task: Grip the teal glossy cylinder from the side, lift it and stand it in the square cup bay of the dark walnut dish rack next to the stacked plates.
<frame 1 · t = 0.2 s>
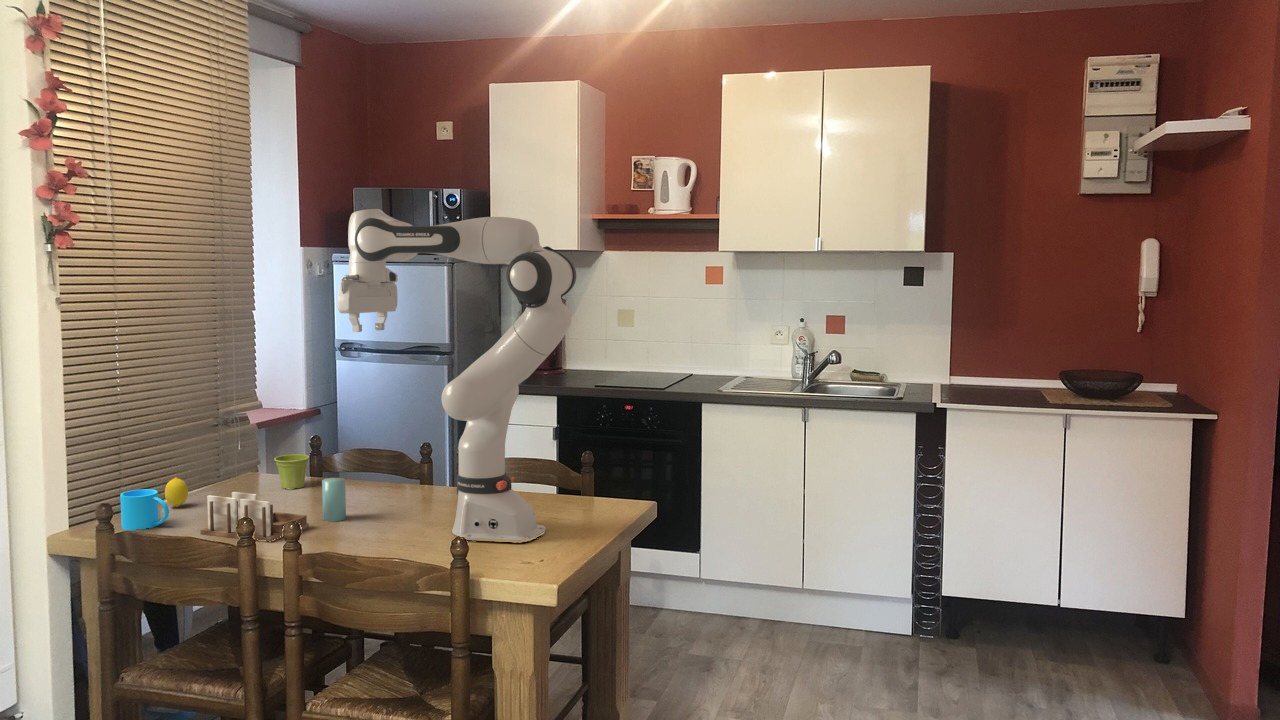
hand: (368, 331, 249), 48 cm above the table, tool pointing down, fingers open, 8 cm apart
rack: (255, 530, 242), on the table
plant pot: (292, 488, 288), on the table
lemon: (177, 508, 264), on the table
teal glossy cylinder: (334, 519, 254), on the table
mug: (147, 527, 245), on the table
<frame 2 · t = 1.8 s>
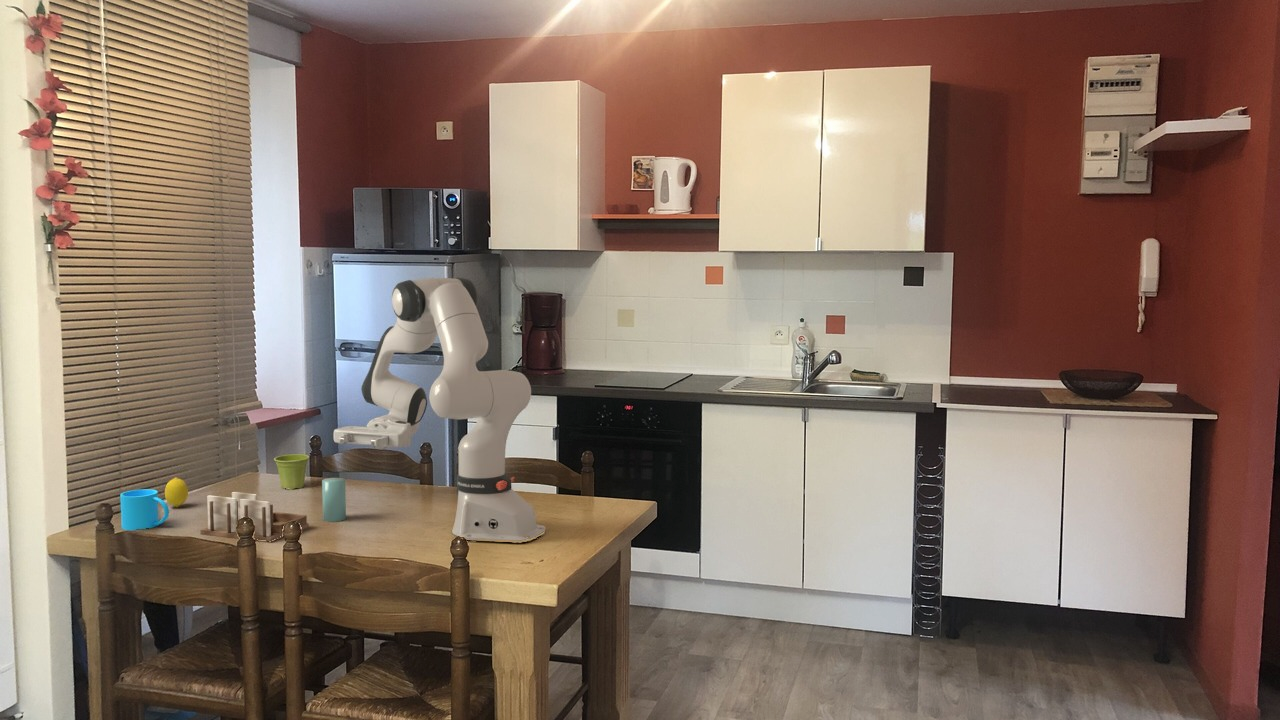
hand: (357, 442, 264), 18 cm above the table, tool horizontal, fingers open, 8 cm apart
nothing on the table moved.
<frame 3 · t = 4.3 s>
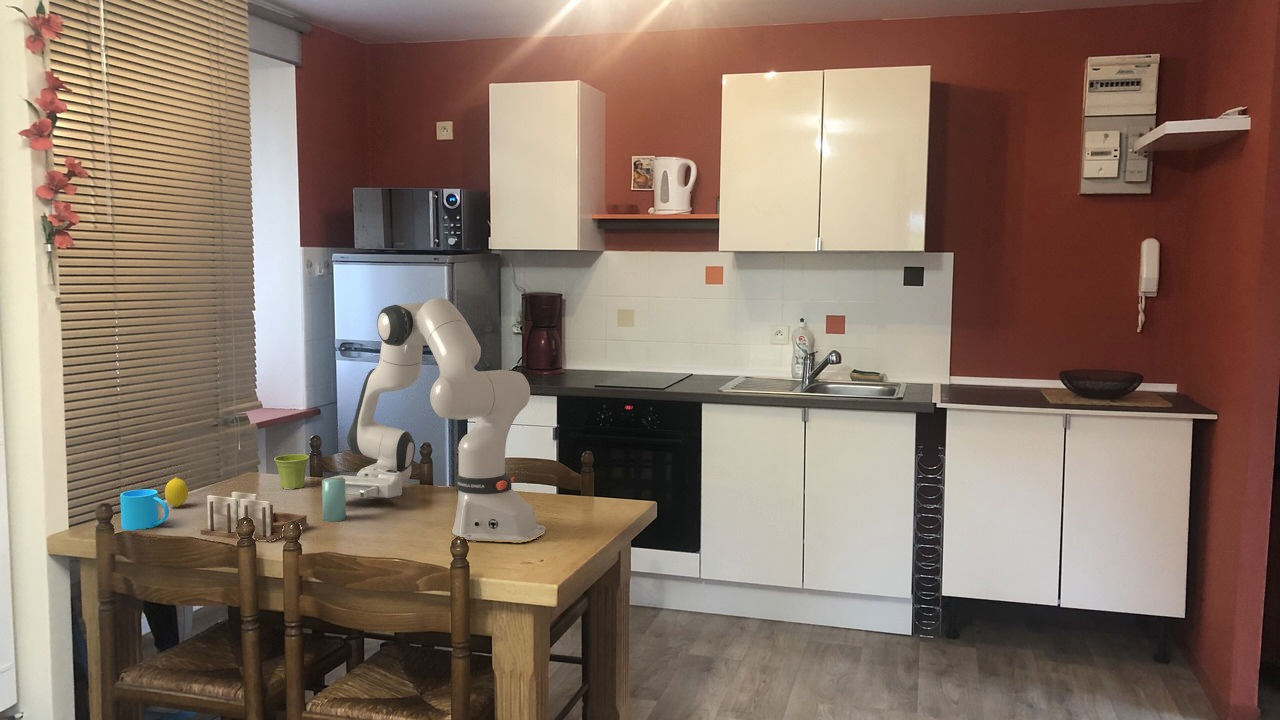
hand: (346, 493, 259), 5 cm above the table, tool horizontal, fingers open, 8 cm apart
nothing on the table moved.
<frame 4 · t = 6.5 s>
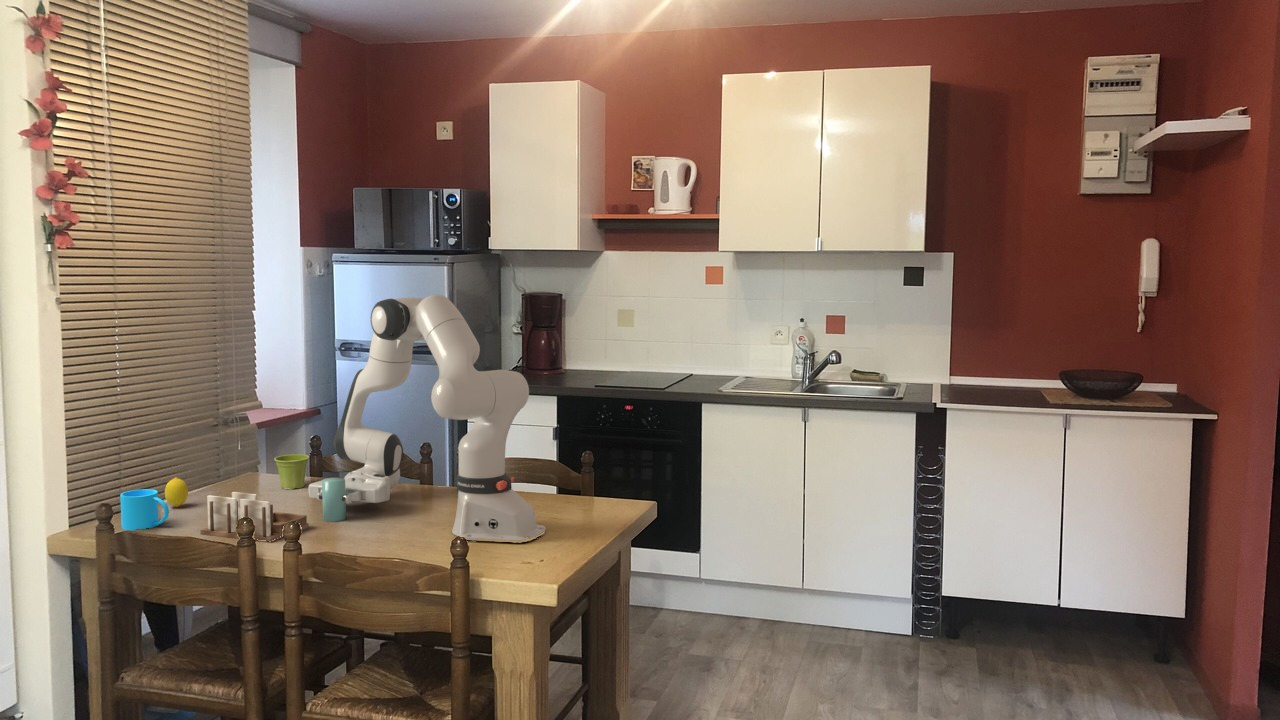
hand: (332, 498, 252), 6 cm above the table, tool horizontal, fingers closed on teal glossy cylinder, 6 cm apart
teal glossy cylinder: (334, 518, 254), on the table, touching gripper
everything else where it was.
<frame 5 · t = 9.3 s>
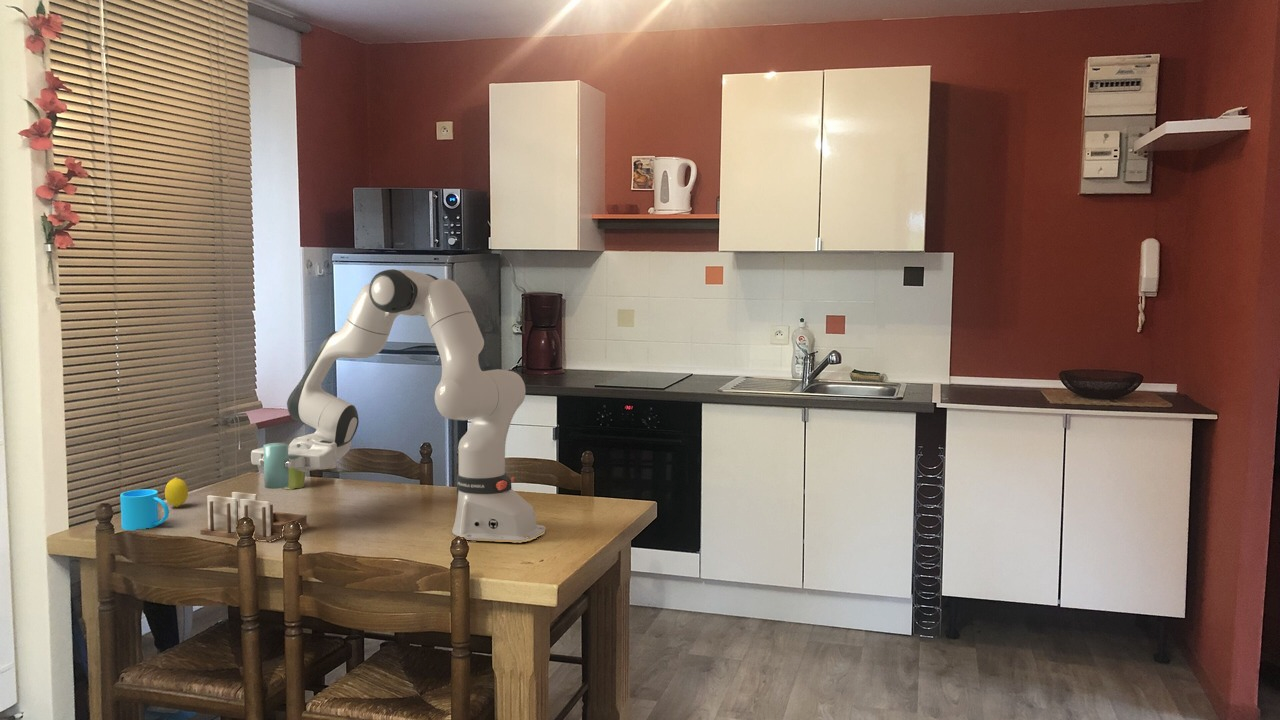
hand: (274, 464, 240), 16 cm above the table, tool horizontal, fingers closed on teal glossy cylinder, 6 cm apart
teal glossy cylinder: (276, 486, 242), point 11 cm above the table, touching gripper
everything else where it was.
when the fingers open (8 cm above the table, at t = 12.0 s): teal glossy cylinder drops 1 cm, resting on rack.
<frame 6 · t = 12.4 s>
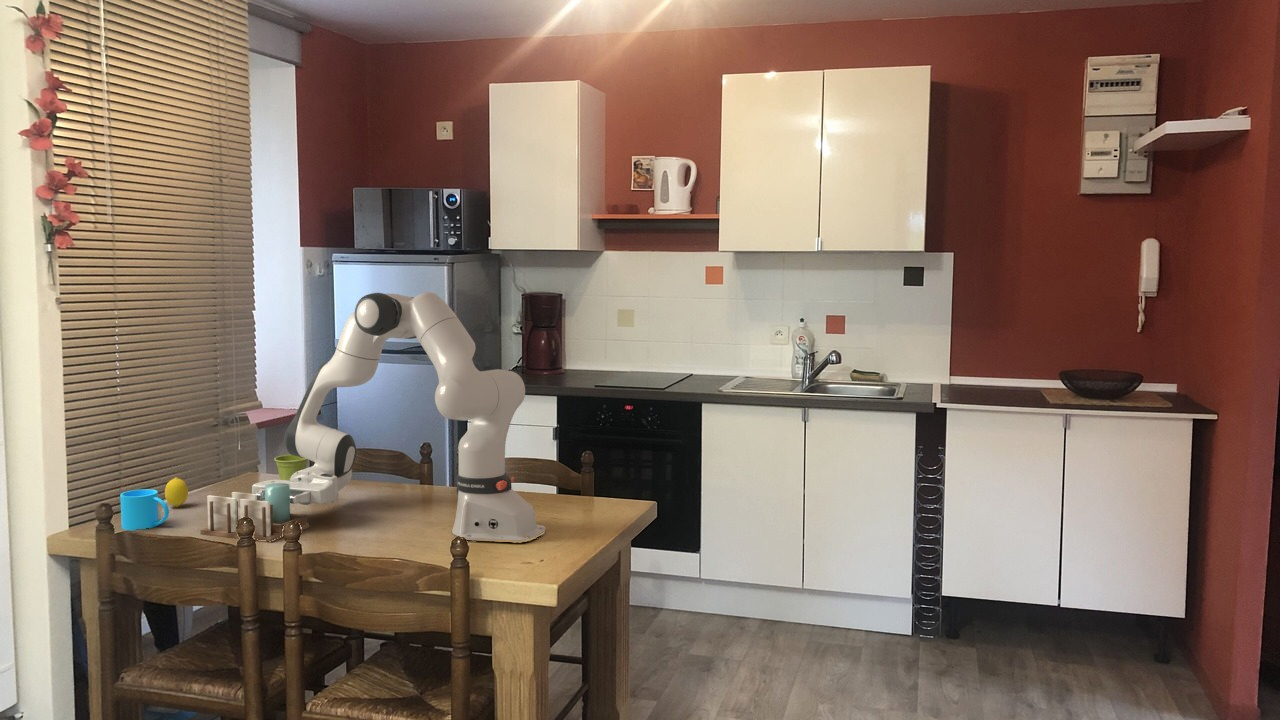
hand: (275, 499, 241), 8 cm above the table, tool horizontal, fingers open, 8 cm apart
teal glossy cylinder: (278, 526, 243), point 1 cm above the table, touching rack
everything else where it was.
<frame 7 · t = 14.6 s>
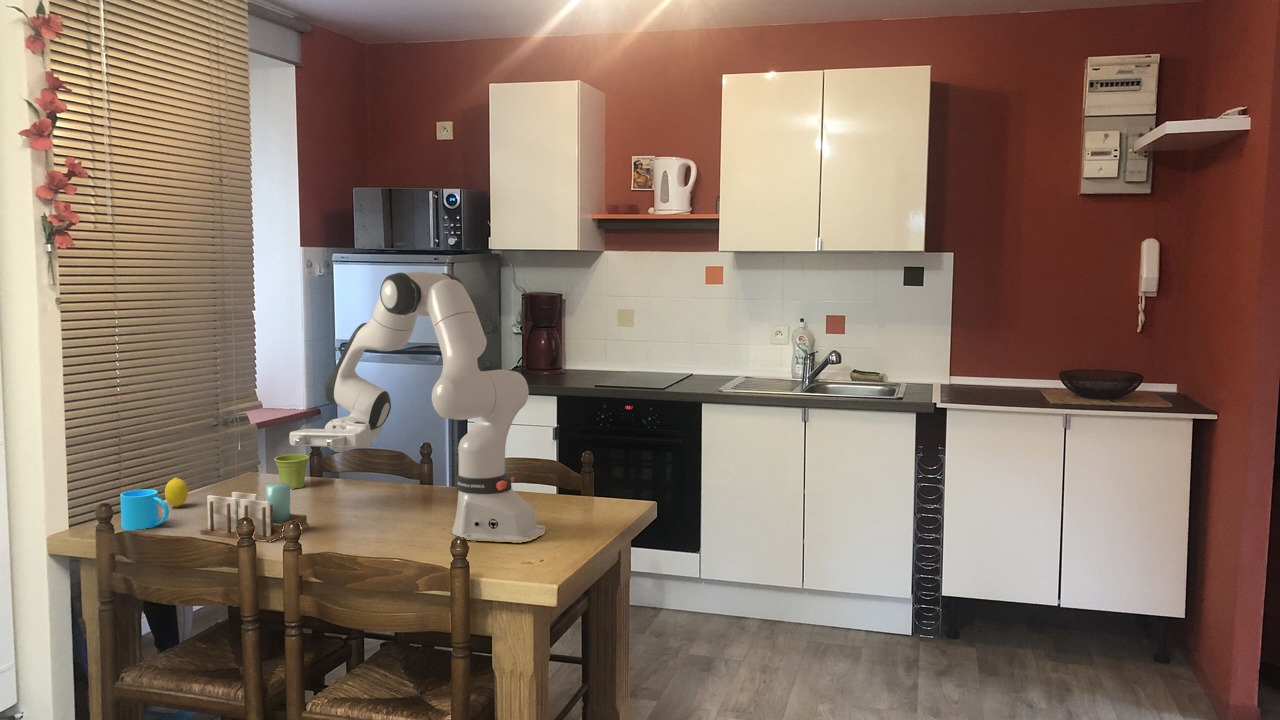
hand: (312, 442, 254), 19 cm above the table, tool horizontal, fingers open, 8 cm apart
nothing on the table moved.
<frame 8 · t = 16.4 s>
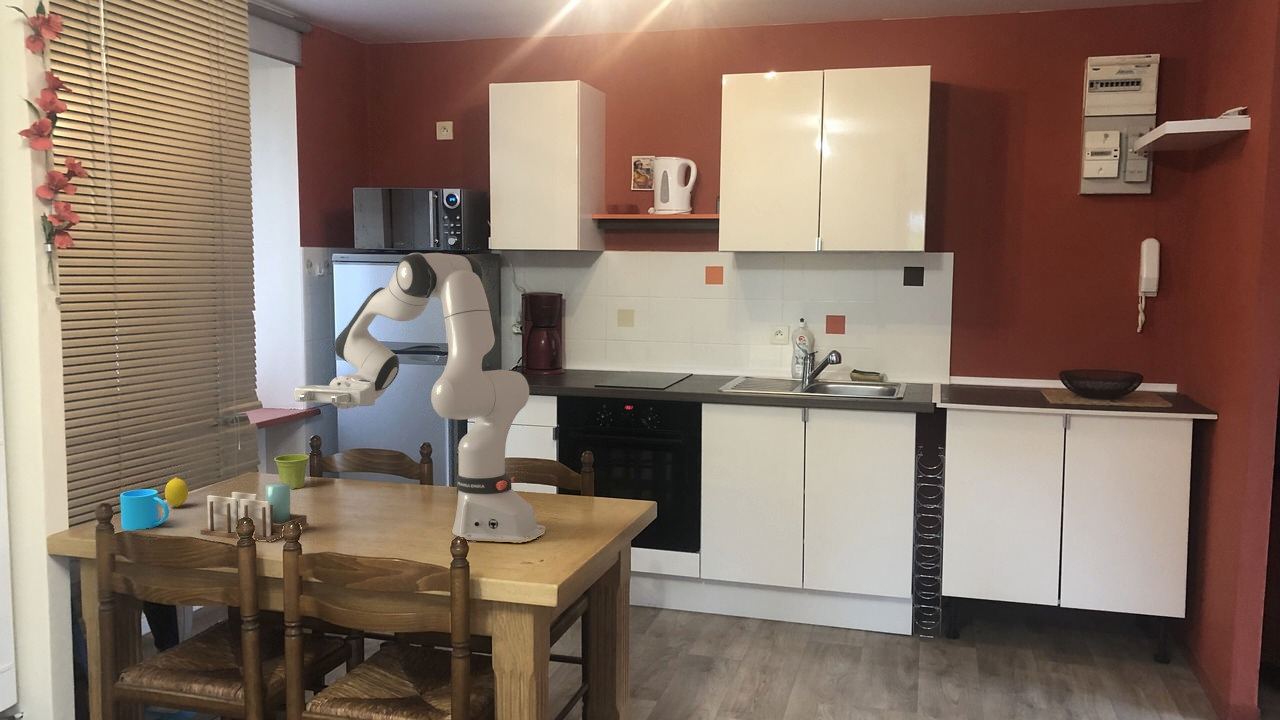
hand: (317, 398, 255), 30 cm above the table, tool horizontal, fingers open, 8 cm apart
nothing on the table moved.
at the end: teal glossy cylinder 0.0 cm from the target spot on the rack, point 1.1 cm above the rack's base; teal glossy cylinder tilted 2°; the gripper is holding nothing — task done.
